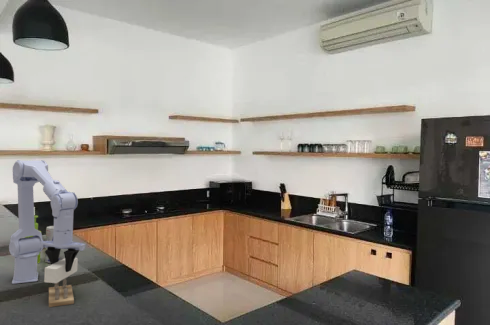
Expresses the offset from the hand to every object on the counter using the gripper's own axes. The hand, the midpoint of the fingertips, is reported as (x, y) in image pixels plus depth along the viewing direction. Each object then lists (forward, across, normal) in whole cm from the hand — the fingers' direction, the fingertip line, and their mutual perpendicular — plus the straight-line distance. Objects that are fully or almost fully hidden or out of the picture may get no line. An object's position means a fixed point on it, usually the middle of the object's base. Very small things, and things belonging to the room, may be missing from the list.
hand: (61, 270), depth 120 cm
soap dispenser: (+9, +32, -30) cm, 45 cm away
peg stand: (+9, 0, 0) cm, 9 cm away
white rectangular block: (+2, 0, 0) cm, 2 cm away
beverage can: (+9, +25, -34) cm, 43 cm away
